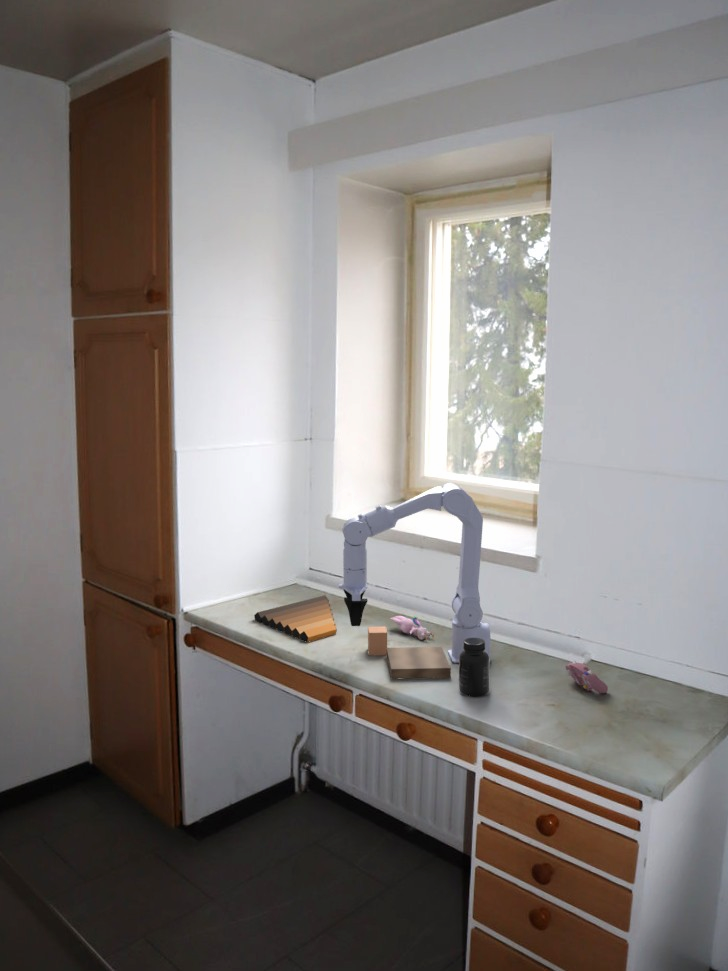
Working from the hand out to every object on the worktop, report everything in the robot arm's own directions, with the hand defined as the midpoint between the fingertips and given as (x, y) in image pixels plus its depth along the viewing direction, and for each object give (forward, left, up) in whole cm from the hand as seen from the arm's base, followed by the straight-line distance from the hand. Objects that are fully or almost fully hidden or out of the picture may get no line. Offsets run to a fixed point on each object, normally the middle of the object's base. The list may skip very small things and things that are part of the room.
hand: (355, 620), depth 201 cm
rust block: (-6, -5, -10) cm, 13 cm away
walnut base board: (-15, +6, -10) cm, 19 cm away
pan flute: (+10, -30, -11) cm, 33 cm away
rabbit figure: (-16, -18, -10) cm, 26 cm away
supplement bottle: (-26, +21, -10) cm, 35 cm away
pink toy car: (-52, +20, -10) cm, 57 cm away
